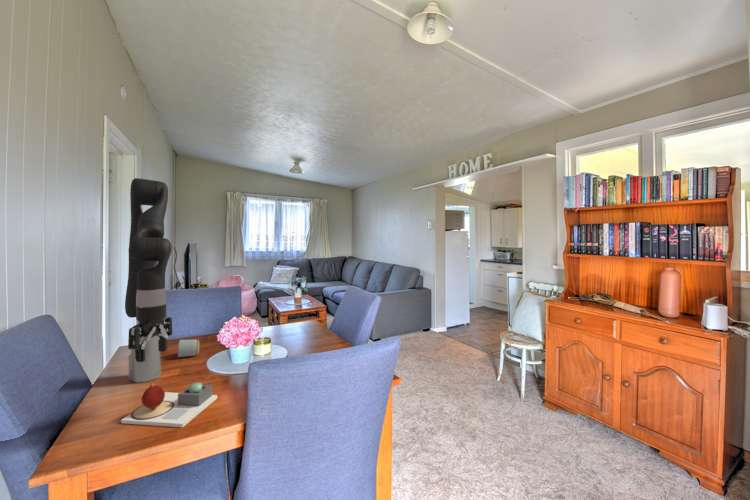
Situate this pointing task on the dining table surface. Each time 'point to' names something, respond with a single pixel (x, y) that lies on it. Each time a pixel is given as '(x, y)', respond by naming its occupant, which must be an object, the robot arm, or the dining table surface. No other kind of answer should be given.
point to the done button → (195, 387)
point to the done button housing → (194, 396)
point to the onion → (153, 396)
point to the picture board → (167, 412)
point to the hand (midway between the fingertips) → (152, 356)
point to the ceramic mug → (188, 348)
